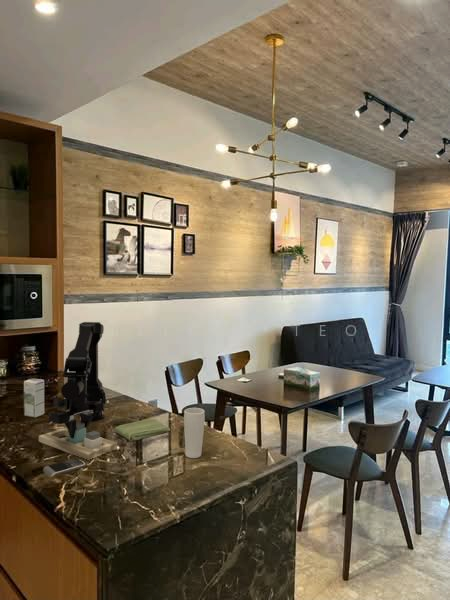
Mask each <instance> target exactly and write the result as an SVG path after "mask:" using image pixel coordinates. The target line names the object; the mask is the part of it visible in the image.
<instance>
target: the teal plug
mask: <svg viewBox="0 0 450 600" xmlns="http://www.w3.org/2000/svg"><path fill="white" fill-rule="evenodd" d="M86 433H87V430H86V428H85V423H82V422H81V421H78V420H77V422H76V429H75V435H74V438H73V439H72V438H71V437H70V434H69V441H70V442H72V443H74V444H77V443H80V442H83V441H84V438H86Z"/></svg>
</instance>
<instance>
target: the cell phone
mask: <svg viewBox="0 0 450 600" xmlns="http://www.w3.org/2000/svg"><path fill="white" fill-rule="evenodd" d="M85 466H86V463H85V462H84V461H83V460H81V459H79V458H72V459H68V460H65V461H64V460H63V461H60V462H57V463H56V462H55V463H52V464H49V465H46V466H44V467H43V470H42V471H43V472H44V473H45V474H46V475H47V476H49V477H56V476H59V475H62V474H66V473H69V472H73V471H75V470H76V469H77V470H79V468H80V469H83V468H85ZM82 467H83V468H82Z"/></svg>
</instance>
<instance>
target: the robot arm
mask: <svg viewBox="0 0 450 600" xmlns="http://www.w3.org/2000/svg"><path fill="white" fill-rule="evenodd" d="M104 329H105V328H104V325H103V324H102V323H101V322H100V321H99V322H98V321H83V322H80V323H79V324H78V337H77V340H76V343H75V345H74V348H72V350H70V351H69V352H68V356H67V357H66V358H65V362H64V366H63V371H62V372H63V373H62V378H67V381H66V382H64V384H63V385H62V387H61V390H60V392H61V396H62V397H63V399H62V397H61V396H60V397H55V398H54V399H53V407H54V408H55V409H57V408H58V409H57V410H55V411H51V412H50V413H49V415H48V421H49V422H51V423H55V424H58V425H62V424H64V425H65V427H67V429H68V432H69V434H70V437H71V438H72V439H73V438H74V435H75V429H76V422H78V420H76V419H75V416H77V415H79V417H80V422H82V423H85V428H86V431H87V429H88V427H89V425H90V424H91V422H95V421H98V420H101V419H104V418H105V415H103V412H104V410H105V404H107V396H106V393H105V390H104V388H103V387H104V386H103V383H102V382H101V380H100V379H99V342H100V341H101V339H102V337H103V334H104ZM63 409H64V410H66V411H64V410H63Z"/></svg>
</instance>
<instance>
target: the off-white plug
mask: <svg viewBox="0 0 450 600" xmlns="http://www.w3.org/2000/svg"><path fill="white" fill-rule="evenodd" d="M102 438H103V437H101V432H99V431H95V430H93V431H90V432H86V438H84V447H86V448H88V449H91V450H92V449H95V448H98V447H100V446H102Z"/></svg>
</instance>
